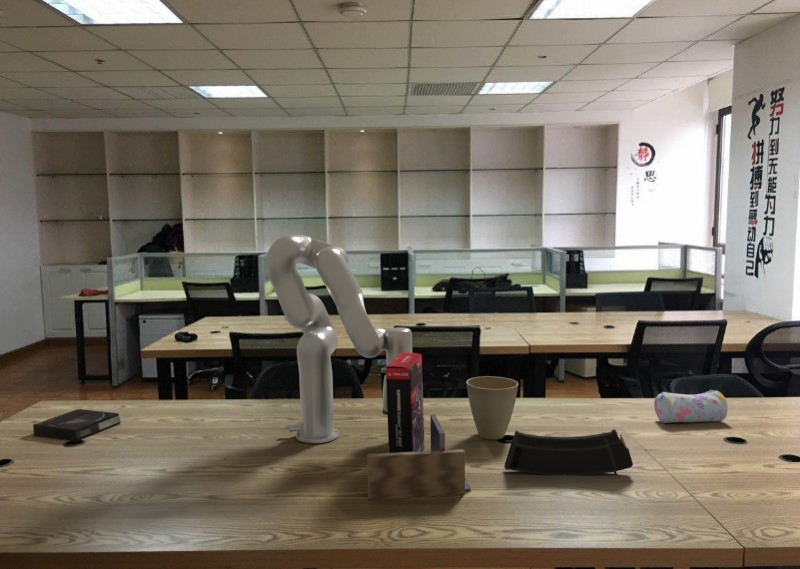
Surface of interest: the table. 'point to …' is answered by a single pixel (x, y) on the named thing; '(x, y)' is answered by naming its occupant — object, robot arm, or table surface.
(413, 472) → the shelf lip
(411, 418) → the graphics card box
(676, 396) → the pencil case
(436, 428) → the bookend
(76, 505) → the table surface
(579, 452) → the black curved panel
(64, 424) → the portable cd player
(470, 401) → the plant pot
